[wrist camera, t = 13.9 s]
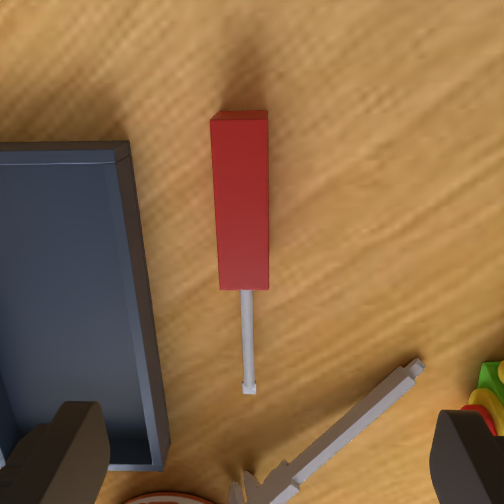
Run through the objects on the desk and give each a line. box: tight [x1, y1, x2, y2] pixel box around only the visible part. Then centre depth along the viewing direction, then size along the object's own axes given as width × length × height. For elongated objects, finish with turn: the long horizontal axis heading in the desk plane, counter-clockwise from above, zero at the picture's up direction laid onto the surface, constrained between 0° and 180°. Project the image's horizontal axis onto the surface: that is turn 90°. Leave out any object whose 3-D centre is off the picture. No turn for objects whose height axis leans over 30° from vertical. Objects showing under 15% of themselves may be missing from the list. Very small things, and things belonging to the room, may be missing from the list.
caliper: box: [228, 358, 426, 504], centre depth 33 cm, size 20×1×6 cm, turn 135°
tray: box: [0, 140, 171, 472], centre depth 30 cm, size 26×14×3 cm, turn 1°
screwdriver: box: [210, 110, 269, 394], centre depth 28 cm, size 20×3×4 cm, turn 1°
